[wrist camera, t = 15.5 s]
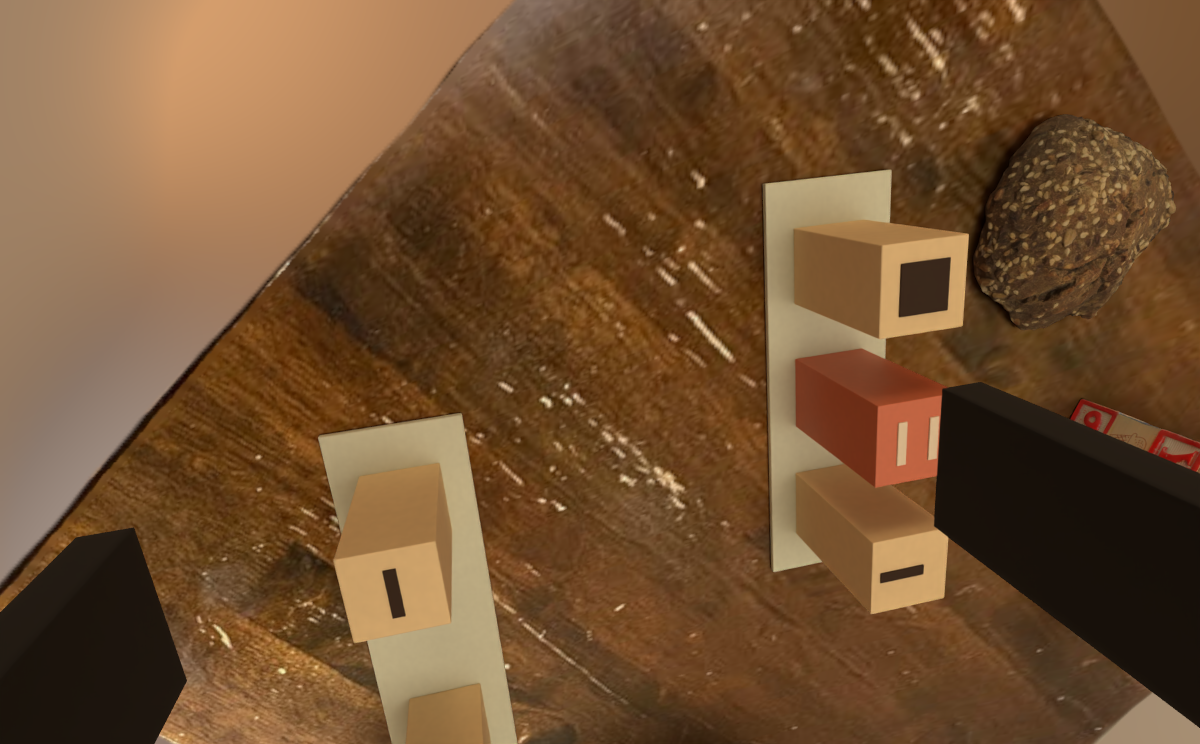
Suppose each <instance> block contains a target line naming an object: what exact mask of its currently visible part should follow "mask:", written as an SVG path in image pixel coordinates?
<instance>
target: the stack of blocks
mask: <svg viewBox="0 0 1200 744" xmlns="http://www.w3.org/2000/svg"><path fill="white" fill-rule="evenodd" d="M1070 419H1071V420H1073V421H1076V422H1078V423H1080V424H1083V425H1085V426H1088V427H1090V428H1092V429H1095V430H1097V431H1100V432H1102V433H1104V434H1107V435H1109V436H1112V437H1114V438H1116V439H1119V440H1121V441H1124V442H1126V443H1128V444H1131V445H1133V446H1136V447H1138V448H1140V449H1143V450H1145V451H1148V452H1150V453H1152V454H1155V455H1157V456H1160V457H1162V458H1164V459H1167V460H1169V461H1172V462H1174V463H1176V464H1179V465H1181V466H1184V467H1186V468H1188V469H1191V470H1193V471H1196V472H1198V473H1200V442H1197V441H1194V440H1192V439H1189V438H1187V437H1184V436H1181V435H1178V434H1176V433H1173V432H1170V431H1167V430H1164V429H1160V428H1157V427H1154V426H1151V425H1149V424H1148V423H1145V422H1143V421H1141V420H1138V419H1136V418H1133V417H1131V416H1128V415H1126V414H1123V413H1121V412H1118V411H1115V410H1113V409H1110V408H1107V407H1104V406H1102V405H1099V404H1096V403H1094V402H1091V401H1088V400H1086V399H1081V400H1080V402H1079V404H1078V405H1077V407H1076V409H1075V411H1074V413H1073V414H1072V417H1071V418H1070Z"/></svg>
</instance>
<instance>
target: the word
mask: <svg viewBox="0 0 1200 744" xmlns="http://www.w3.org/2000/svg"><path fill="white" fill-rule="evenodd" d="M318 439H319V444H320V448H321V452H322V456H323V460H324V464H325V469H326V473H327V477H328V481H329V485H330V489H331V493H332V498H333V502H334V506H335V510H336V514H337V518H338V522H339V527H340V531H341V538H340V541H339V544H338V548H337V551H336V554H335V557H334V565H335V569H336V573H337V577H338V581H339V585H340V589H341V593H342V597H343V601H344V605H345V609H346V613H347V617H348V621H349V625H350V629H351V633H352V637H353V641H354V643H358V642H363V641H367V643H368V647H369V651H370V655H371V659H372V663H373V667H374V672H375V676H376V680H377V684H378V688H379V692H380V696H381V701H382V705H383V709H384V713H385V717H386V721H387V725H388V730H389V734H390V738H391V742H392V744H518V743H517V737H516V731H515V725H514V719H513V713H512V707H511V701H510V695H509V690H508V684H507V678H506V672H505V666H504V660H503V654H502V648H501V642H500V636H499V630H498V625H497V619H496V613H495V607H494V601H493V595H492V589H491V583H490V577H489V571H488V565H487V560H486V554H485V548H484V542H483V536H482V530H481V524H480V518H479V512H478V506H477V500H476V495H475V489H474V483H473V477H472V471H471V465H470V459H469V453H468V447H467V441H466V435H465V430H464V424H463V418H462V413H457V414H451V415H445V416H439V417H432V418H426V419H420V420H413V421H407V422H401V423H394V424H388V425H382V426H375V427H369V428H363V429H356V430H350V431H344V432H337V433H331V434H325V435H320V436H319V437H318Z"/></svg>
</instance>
